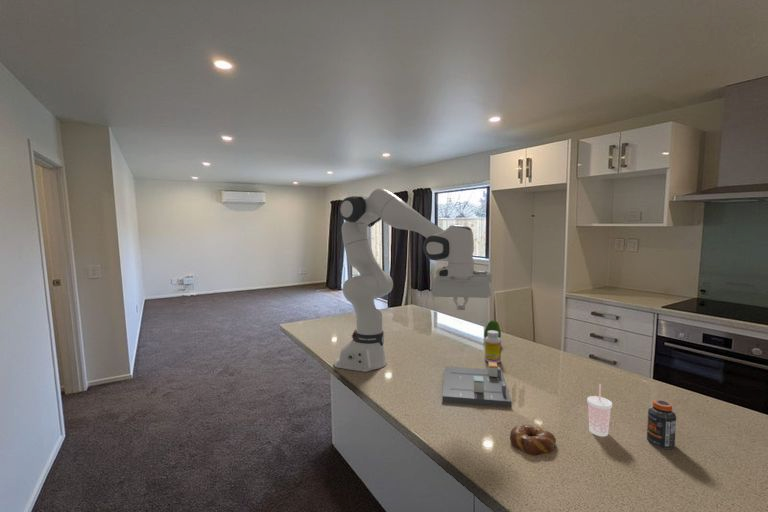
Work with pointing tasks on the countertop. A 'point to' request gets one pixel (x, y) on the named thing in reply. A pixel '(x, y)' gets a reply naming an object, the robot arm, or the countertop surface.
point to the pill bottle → (661, 425)
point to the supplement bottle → (492, 347)
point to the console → (462, 387)
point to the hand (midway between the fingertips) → (460, 309)
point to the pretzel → (532, 439)
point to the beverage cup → (599, 414)
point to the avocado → (492, 328)
